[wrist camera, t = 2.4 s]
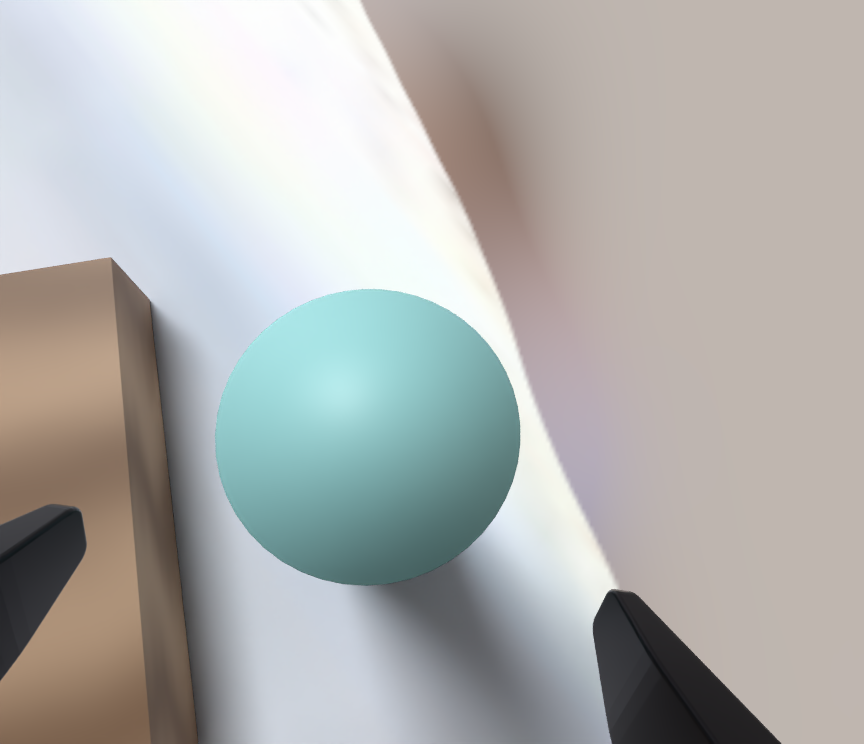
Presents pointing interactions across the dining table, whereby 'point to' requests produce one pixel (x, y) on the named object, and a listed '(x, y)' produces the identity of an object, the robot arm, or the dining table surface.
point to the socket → (93, 511)
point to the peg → (367, 437)
